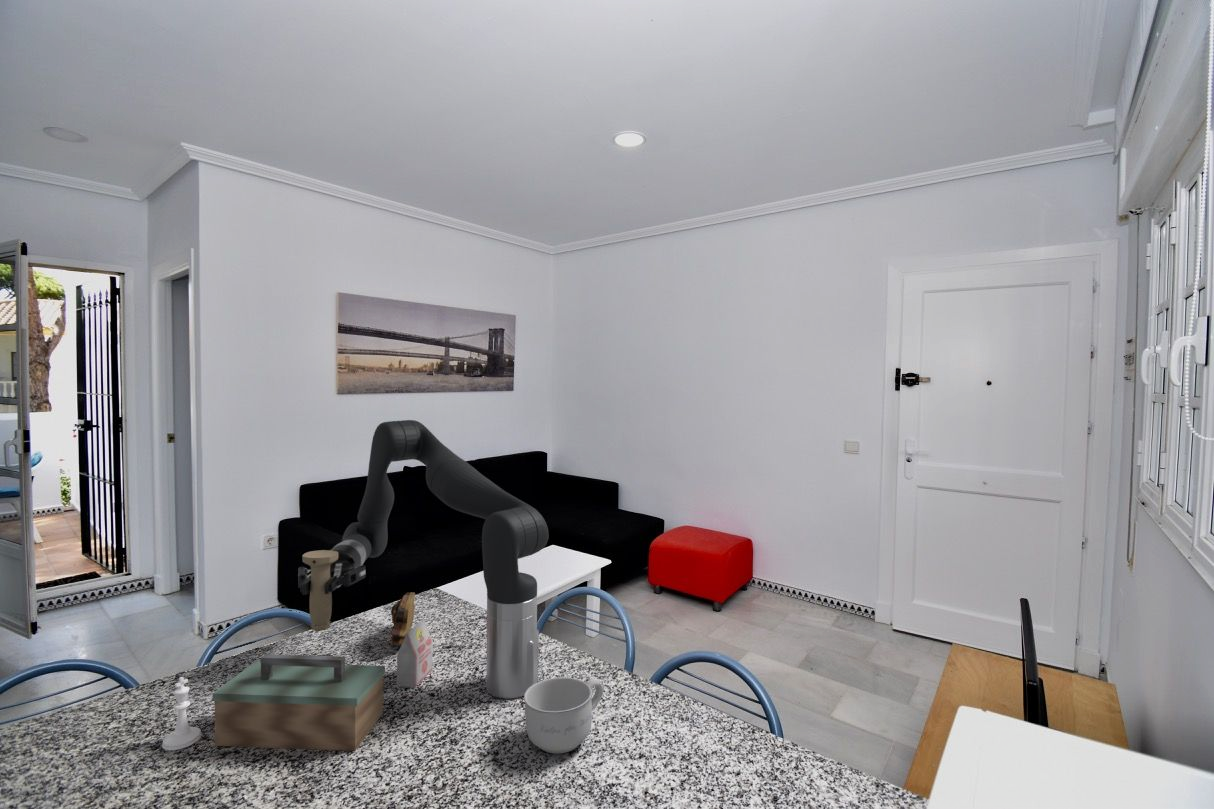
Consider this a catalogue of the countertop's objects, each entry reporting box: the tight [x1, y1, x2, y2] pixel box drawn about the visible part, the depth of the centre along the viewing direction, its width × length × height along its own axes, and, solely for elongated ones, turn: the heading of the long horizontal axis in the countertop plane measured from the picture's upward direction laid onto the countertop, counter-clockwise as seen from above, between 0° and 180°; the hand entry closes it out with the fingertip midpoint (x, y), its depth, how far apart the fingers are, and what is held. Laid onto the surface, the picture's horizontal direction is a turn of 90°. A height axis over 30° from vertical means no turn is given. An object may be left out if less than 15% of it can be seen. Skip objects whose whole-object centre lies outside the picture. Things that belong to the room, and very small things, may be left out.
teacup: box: [523, 676, 604, 755], centre depth 90 cm, size 14×11×8 cm
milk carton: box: [396, 619, 433, 689], centre depth 108 cm, size 4×7×10 cm, turn 171°
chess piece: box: [161, 676, 202, 751], centre depth 88 cm, size 5×5×10 cm
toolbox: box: [212, 653, 386, 752], centre depth 96 cm, size 23×18×12 cm
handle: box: [301, 549, 338, 633], centre depth 112 cm, size 5×6×15 cm
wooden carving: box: [390, 592, 416, 646], centre depth 124 cm, size 16×5×10 cm, turn 15°
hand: (315, 589), depth 109 cm, fingers closed on handle, 3 cm apart
